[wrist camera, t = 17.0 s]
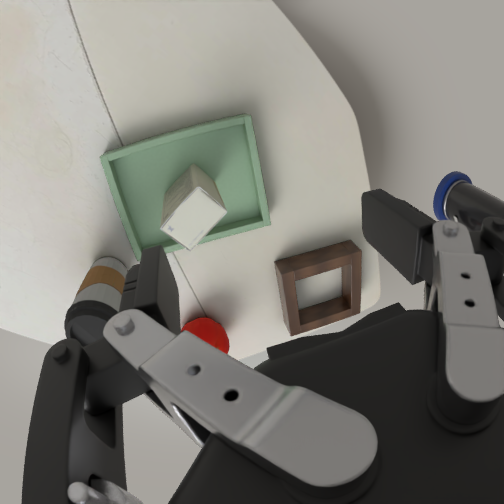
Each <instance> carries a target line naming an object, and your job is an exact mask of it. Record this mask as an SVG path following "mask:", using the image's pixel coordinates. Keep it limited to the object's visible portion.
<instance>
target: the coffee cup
mask: <svg viewBox="0 0 504 504" xmlns="http://www.w3.org/2000/svg"><path fill="white" fill-rule="evenodd" d="M127 273H128V272H127V269H126V268H125V266H124V265H123V264H122V263H121V262H120V261H119V260H117V259H115V258H111V257H104V258H101V259H98V260H97V261H95V262H94V263H93V265H92V266H91V268H90V270H89V271H88V273H87V275H86V277H85V279H84V280H83V282H82V284H81V286H80V288H79V290H78V292H77V294H76V297H75V300H74V302H73V304H72V306H71V307H70V308H69V309H68V311H67V314H66V319H65V331H66V337H67V339H68V338H73V339H76V340H78V341H79V343H80V344H81V346H82V347H85V346H87V345H89V344H91V343H93V342H95V341H97V340H99V339H101V338H102V337H104V335H103V330H104V327H105V325H106V323H107V322H108V321H109V320H110V319H111V318H112V317H113V316H114V315H116V314H118V313H119V307H120V302H121V297H122V292H123V287H124V285H125V284H124V282H125V278H126V274H127Z"/></svg>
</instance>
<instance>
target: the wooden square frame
mask: <svg viewBox="0 0 504 504" xmlns="http://www.w3.org/2000/svg"><path fill="white" fill-rule="evenodd" d="M361 259H362V251H361V250H360V249H359V248H358V247H357V246H356V245H355V244H354V243H353V242H352V241H351V240H349V241H345V242H342V243H338V244H335V245H331V246H328V247H324V248H321V249H317V250H314V251H310V252H307V253H303V254H300V255H296V256H293V257H289V258H285V259H282V260H278V261H275V262H274V263H275V269H276V275H277V281H278V286H279V292H280V298H281V304H282V310H283V316H284V322H285V325H286V327H287V329H288V331H289V333H290V336H294V335H297V334H300V333H303V332H306V331H310V330H313V329H316V328H319V327H322V326H325V325H328V324H331V323H333V322H336V321H339V320H342V319H345V318H348V317H351V316H353V315H356V314H359V313H360V304H361ZM339 267H342V297H339V298H336V299H333V300H330V301H327V302H323V303H320V304H317V305H314V306H311V307H308V308H305V309H301V310H298V303H297V295H296V287H295V281H297V280H300V279H303V278H307V277H310V276H313V275H317V274H320V273H323V272H326V271H330V270H333V269H336V268H339Z"/></svg>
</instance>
